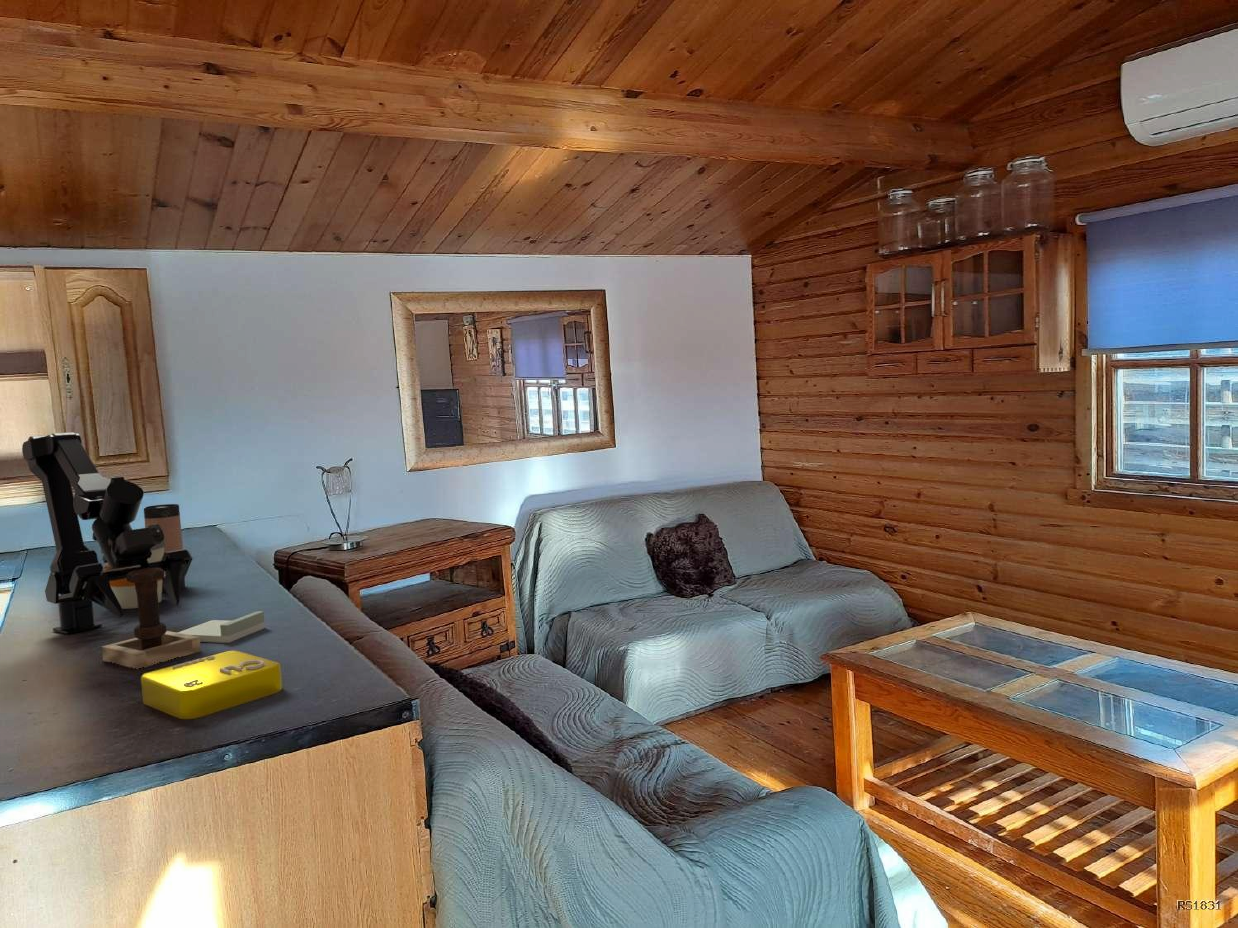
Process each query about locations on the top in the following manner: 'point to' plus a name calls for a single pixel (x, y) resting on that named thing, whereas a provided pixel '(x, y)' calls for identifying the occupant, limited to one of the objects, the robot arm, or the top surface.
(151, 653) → the socket
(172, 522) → the travel mug
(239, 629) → the pale green ledge plate
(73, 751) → the top surface
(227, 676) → the element tile
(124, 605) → the reusable coffee cup
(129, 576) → the bolt
